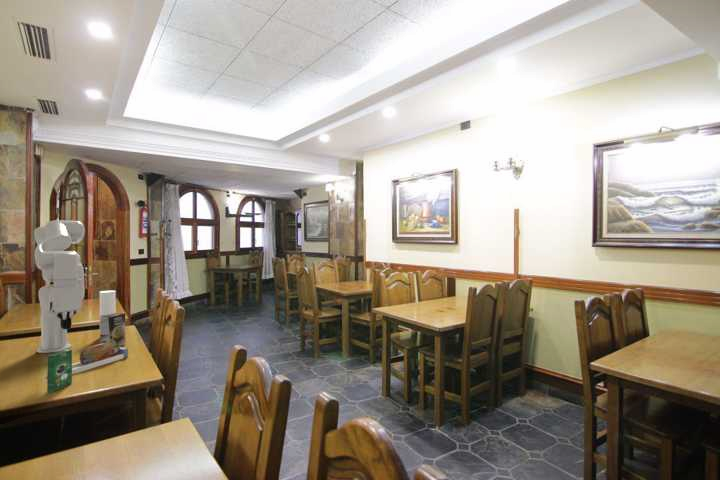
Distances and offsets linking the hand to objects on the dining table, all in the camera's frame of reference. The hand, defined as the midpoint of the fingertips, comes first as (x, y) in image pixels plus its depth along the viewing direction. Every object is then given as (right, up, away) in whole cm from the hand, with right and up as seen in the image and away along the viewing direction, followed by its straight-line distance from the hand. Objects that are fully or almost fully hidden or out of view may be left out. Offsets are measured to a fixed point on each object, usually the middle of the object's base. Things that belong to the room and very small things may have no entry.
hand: (66, 328), depth 147 cm
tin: (+5, -18, +12) cm, 23 cm away
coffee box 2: (-5, -18, +35) cm, 39 cm away
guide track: (+3, -18, +7) cm, 20 cm away
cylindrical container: (-19, -18, +52) cm, 58 cm away
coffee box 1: (+9, -19, -13) cm, 24 cm away
